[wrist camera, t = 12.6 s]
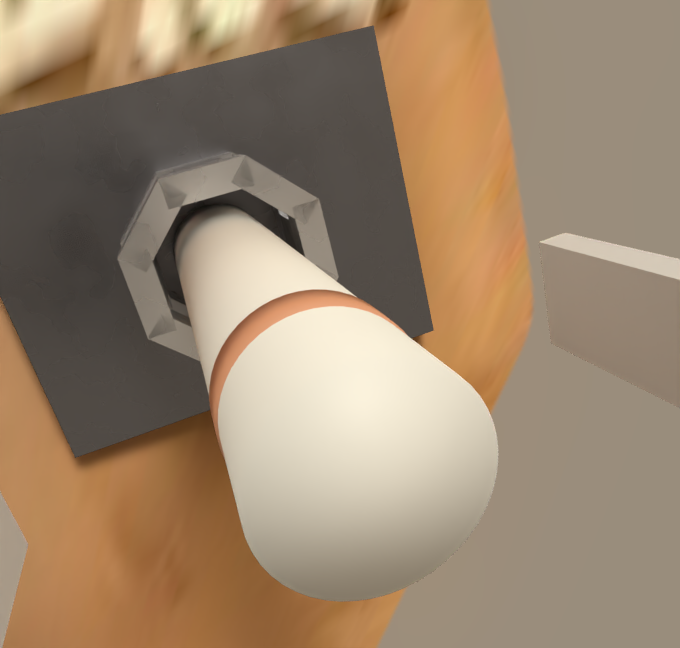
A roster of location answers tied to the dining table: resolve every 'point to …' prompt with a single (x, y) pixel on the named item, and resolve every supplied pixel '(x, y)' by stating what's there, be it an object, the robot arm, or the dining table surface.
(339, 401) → the cream ringed tube
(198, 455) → the dining table surface
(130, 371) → the tube holder base
